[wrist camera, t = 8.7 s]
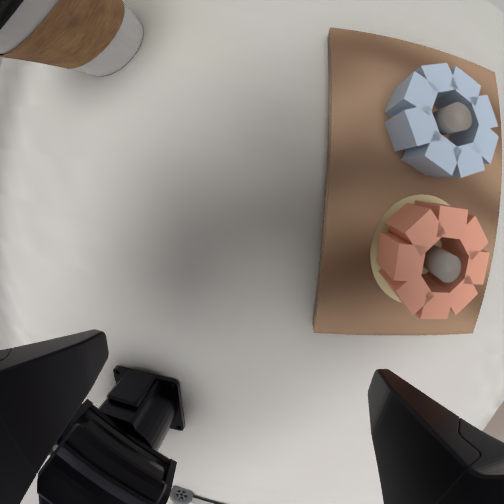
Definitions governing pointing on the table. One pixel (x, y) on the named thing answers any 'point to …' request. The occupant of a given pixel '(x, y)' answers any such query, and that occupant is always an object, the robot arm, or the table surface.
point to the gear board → (390, 188)
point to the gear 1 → (425, 128)
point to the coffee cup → (70, 33)
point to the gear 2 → (413, 253)
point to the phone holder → (184, 496)
